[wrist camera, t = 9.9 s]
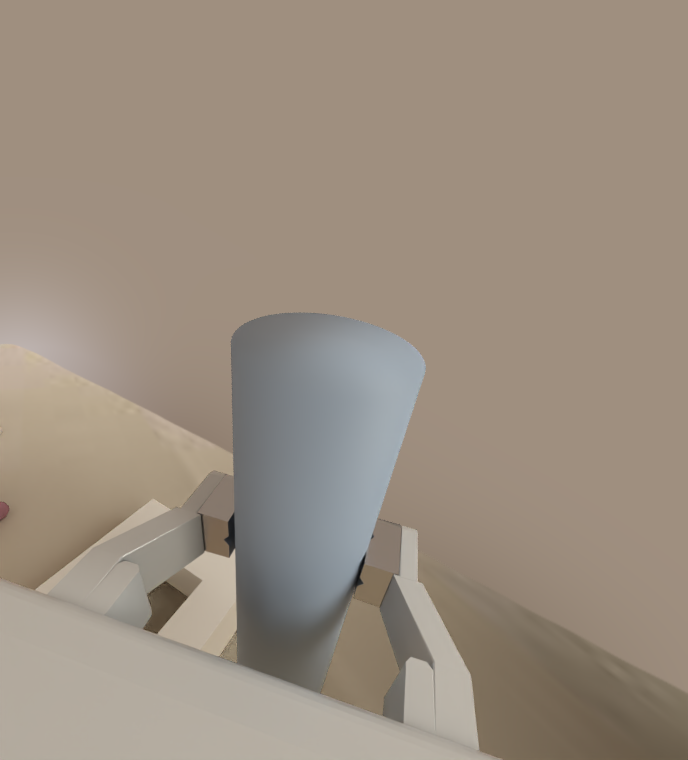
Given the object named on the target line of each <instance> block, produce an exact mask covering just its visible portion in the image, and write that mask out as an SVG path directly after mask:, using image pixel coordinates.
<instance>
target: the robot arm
mask: <svg viewBox="0 0 688 760" xmlns="http://www.w3.org/2000/svg"><path fill="white" fill-rule="evenodd" d="M234 549H235V515H234V477H233V476H230V475H227V474H224V473H220V472H217V471H212V472H211V473H209V474H208V476H207V477H206V478H205V479H204V481H203V482H202V483H201V484H200V485H199V487H198V488H197V489H196V490H195V491H194V493H193V494H192V495H191V496H190V498H189V499H188V500H187V501H186V502H185V504H184V505H183V506H182V507H181V508H178V507H176V508H174V509H172V510H170V511H168V512H165V513H163V514H161V515H159V516H157V517H155V518H153V519H151V520H149V521H147V522H145V523H143V524H141V525H139V526H137V527H135V528H132V529H130V530H128V531H126V532H124V533H122V534H120V535H118V536H116V537H114V538H112V539H110V540H108V541H106V542H104V543H102V544H100V545H97V546H95V547H93V548H92V549H91V550H90V551H89V552H88V553H87V554H86V555H85V556H84V557H83V558H82V559H81V560H80V561H79V562H78V563H77V564H76V565H75V566H74V567H73V568H72V569H71V570H70V571H69V572H68V573H67V574H66V575H65V576H64V577H63V578H62V579H61V580H60V581H59V582H58V583H57V585H56V586H55V587H54V588H53V589H52V590H51V591H50V592H49V593H48V594H44V593H41V592H38V591H36V590H33V589H30V588H27V587H24V586H22V585H19V584H16V583H13V582H11V581H8V580H5V579H2V578H0V760H503V759H500V758H498V757H495V756H492V755H489V754H486V753H484V752H481V751H479V743H478V734H477V725H476V716H475V707H474V698H473V689H472V680H471V675H470V673H469V671H468V669H467V667H466V665H465V663H464V661H463V659H462V657H461V656H460V654H459V652H458V650H457V648H456V646H455V644H454V642H453V640H452V638H451V637H450V635H449V633H448V631H447V629H446V627H445V625H444V623H443V621H442V619H441V617H440V616H439V614H438V612H437V610H436V608H435V606H434V604H433V602H432V600H431V598H430V596H429V595H428V593H427V591H426V589H425V587H424V585H423V583H420V582H418V532H417V530H416V529H412V528H408V527H405V526H401V525H399V524H396V523H392V522H388V521H385V520H381V519H378V518H377V521H376V524H375V527H374V531H373V534H372V537H371V540H370V543H369V546H368V548H367V550H366V553H365V557H364V560H363V563H362V567H361V570H360V572H359V575H358V578H357V581H356V585H355V591H354V597H353V598H354V599H357V600H360V601H363V602H366V603H369V604H371V605H374V606H377V607H380V612H381V615H382V618H383V621H384V624H385V627H386V630H387V633H388V636H389V639H390V642H391V645H392V648H393V651H394V654H395V658H396V661H397V664H398V667H399V670H400V673H399V674H398V676H397V677H396V679H395V681H394V682H393V684H392V686H391V687H390V689H389V691H388V692H387V694H386V695H385V697H384V708H383V716H381V715H379V714H376V713H373V712H370V711H368V710H365V709H362V708H359V707H356V706H354V705H351V704H348V703H345V702H343V701H340V700H337V699H334V698H332V697H329V696H326V695H323V694H321V693H318V692H315V691H312V690H309V689H307V688H304V687H301V686H298V685H296V684H293V683H290V682H287V681H285V680H282V679H279V678H276V677H274V676H271V675H268V674H265V673H262V672H260V671H257V670H254V669H251V668H249V667H246V666H243V665H240V664H238V663H235V662H232V661H229V660H226V659H224V658H221V657H218V656H215V655H213V654H210V653H207V652H204V651H202V650H199V649H196V648H193V647H191V646H188V645H185V644H182V643H179V642H177V641H174V640H171V639H168V638H166V637H163V636H160V635H157V634H155V633H152V632H149V631H146V630H143V628H144V626H145V625H146V623H147V622H148V620H149V619H150V617H151V616H152V610H151V606H150V603H149V600H148V596H147V594H148V593H149V592H151V591H152V590H153V589H155V588H156V587H158V586H159V585H160V584H162V583H163V582H164V581H166V580H167V579H169V578H170V577H171V576H173V575H174V574H176V573H177V572H178V571H180V570H181V569H183V568H184V567H185V566H187V565H188V564H189V563H191V562H192V561H194V560H195V559H196V558H198V557H199V556H201V555H202V554H203V553H204V551H207V552H210V553H214V554H217V555H221V556H224V557H227V558H230V556H231V554H232V552H233V551H234Z"/></svg>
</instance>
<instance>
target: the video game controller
mask: <svg viewBox="0 0 688 760" xmlns="http://www.w3.org/2000/svg"><path fill="white" fill-rule="evenodd" d="M8 512H9V506H8V505H7V504H6V503H4V502H0V520H1V519H3V518H4V517H6V515H7V514H8Z"/></svg>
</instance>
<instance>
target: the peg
mask: <svg viewBox="0 0 688 760" xmlns="http://www.w3.org/2000/svg"><path fill="white" fill-rule="evenodd" d="M231 365H232V409H233V410H232V412H233V413H232V414H233V465H234V515H235V565H236V615H237V663H238V664H240V665H243V666H246V667H249V668H251V669H254V670H257V671H260V672H262V673H265V674H268V675H271V676H274V677H276V678H279V679H282V680H285V681H287V682H290V683H293V684H296V685H298V686H301V687H304V688H307V689H309V690H312V691H315V692H318V693H320V692H321V689H322V687H323V684H324V681H325V678H326V675H327V672H328V669H329V665H330V662H331V659H332V656H333V653H334V650H335V647H336V644H337V641H338V638H339V635H340V632H341V629H342V626H343V623H344V619H345V616H346V613H347V610H348V607H349V604H350V601H351V598H352V595H353V592H354V589H355V585H356V581H357V578H358V575H359V572H360V570H361V567H362V563H363V560H364V557H365V553H366V550H367V548H368V546H369V543H370V540H371V537H372V534H373V531H374V527H375V524H376V521H377V518H378V515H379V512H380V509H381V506H382V503H383V500H384V497H385V494H386V491H387V487H388V485H389V481H390V478H391V475H392V472H393V469H394V466H395V463H396V460H397V457H398V454H399V451H400V448H401V445H402V442H403V439H404V436H405V432H406V429H407V426H408V423H409V420H410V417H411V414H412V411H413V408H414V405H415V401H416V399H417V396H418V392H419V389H420V386H421V383H422V380H423V377H424V374H425V369H426V367H425V362H424V359H423V357H422V356H421V354H420V353H419V352H418V351H417V350H416V349H415V348H414V347H413V346H412V345H411V344H410V343H408V342H407V341H405V340H404V339H402V338H401V337H399V336H397V335H395V334H393V333H391V332H389V331H387V330H385V329H383V328H380V327H377V326H374V325H372V324H369V323H365V322H362V321H359V320H354V319H351V318H346V317H340V316H335V315H327V314H318V313H282V314H274V315H268V316H264V317H260V318H257V319H254V320H251V321H249V322H247V323H245V324H244V325H242V326H241V327H239V328H238V329H237V330H236V331H235V333H234V334H233V336H232V340H231Z"/></svg>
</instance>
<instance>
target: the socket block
mask: <svg viewBox="0 0 688 760" xmlns="http://www.w3.org/2000/svg"><path fill="white" fill-rule="evenodd" d="M170 510H171V509H169V508H168V507H166V506H164V505H163V504H161V503H160V502H158V501H156V500H155V499H152V500H150V501H149V502H148V503H147V504H145V505H144V506H143V507H141V508H140V509H139V510H137V511H136V512H135V513H134V514H132V515H131V516H130V517H128V518H127V519H126V520H124V521H123V522H122V523H121V524H119V525H118V526H117V527H115V528H114V529H113V530H111V531H110V532H109V533H108V534H106V535H105V536H104V537H102V538H101V539H100V540H98V541H97V542H96V543H95V544H93V545H92V546H91V547H89V548H88V549H87V550H85V551H84V552H83V553H82V554H80V555H79V556H78V557H76V558H75V559H74V560H73V561H71V562H70V563H69V564H67V565H66V566H65V567H63V568H62V569H61V570H60V571H58V572H57V573H56V574H54V575H53V576H52V577H50V578H49V579H48V580H47V581H45V582H44V583H43V584H41V585H40V586H39V587H37V588H36V589H35V590H36V591H38V592H41V593H44V594H48V593H49V592H50V591H51V590H52V589H53V588H54V587H55V586H56V585H57V583H58V582H59V581H60V580H61V579H62V578H63V577H64V576H65V575H66V574H67V573H68V572H69V571H70V570H71V569H72V568H73V567H74V566H75V565H76V564H77V563H78V562H79V561H80V560H81V559H82V558H83V557H84V556H85V555H86V554H87V553H88V552H89V551H90V550H91V549H92V548H93V547H95V546H97V545H100V544H102V543H104V542H106V541H108V540H110V539H112V538H114V537H116V536H118V535H120V534H122V533H124V532H126V531H128V530H130V529H132V528H135V527H137V526H139V525H141V524H143V523H145V522H147V521H149V520H151V519H153V518H155V517H157V516H159V515H161V514H163V513H165V512H168V511H170ZM166 582H167V583H169V584H170V585H172V586H173V587H174V588H176V589H177V590H179V591H180V592H181V593H183V594H184V595H186V596H187V597H188V598H187V599H186V601H185V602H184V603H183V604H182V605H181V606H180V608H179V609H178V610H177V611H176V612H175V613H174V615H173V616H172V617H171V618H170V619H169V620H168V622H167V623H166V624H165V625H164V626H163V628H162V629H161V630H160V631H159V632H158V633H157V635H160V636H163V637H166V638H168V639H171V640H174V641H177V642H179V643H182V644H185V645H188V646H191V647H193V648H196V649H199V650H202V651H204V652H207V653H210V654H213V655H215V656H218V657H219V656H220V655H221V653H222V652H223V650H224V649H225V647H226V645H227V644H228V642H229V641H230V639H231V638H232V636H233V635H234V633H235V632H236V630H237V615H236V565H235V549H234V551H233V552H232V554H231V556H230V558H227V557H224V556H221V555H217V554H214V553H210V552H207V551H204V553H203V554H202V555H201V556H199V557H198V558H196V559H195V560H194V561H192V562H191V563H189V564H188V565H187V566H185V567H184V568H183V569H181V570H180V571H178V572H177V573H176V574H174V575H173V576H171V577H170V578H169V579H167V580H166Z"/></svg>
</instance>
